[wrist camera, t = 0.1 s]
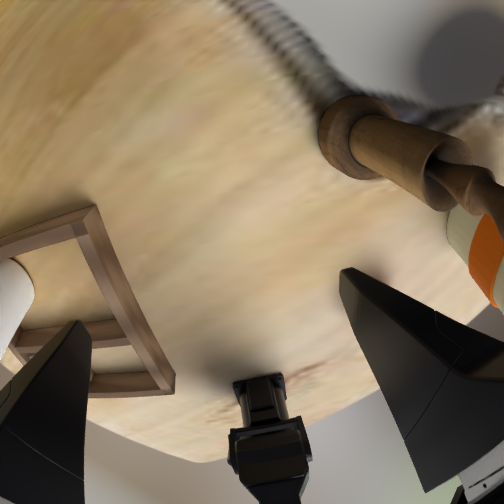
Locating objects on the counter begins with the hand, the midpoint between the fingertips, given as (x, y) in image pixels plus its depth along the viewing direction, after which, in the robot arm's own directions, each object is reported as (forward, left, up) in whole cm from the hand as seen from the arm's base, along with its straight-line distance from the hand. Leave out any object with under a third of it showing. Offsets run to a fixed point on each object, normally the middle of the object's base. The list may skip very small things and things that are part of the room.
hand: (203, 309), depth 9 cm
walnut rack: (-11, +19, -15) cm, 26 cm away
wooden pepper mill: (+2, -12, -15) cm, 19 cm away
